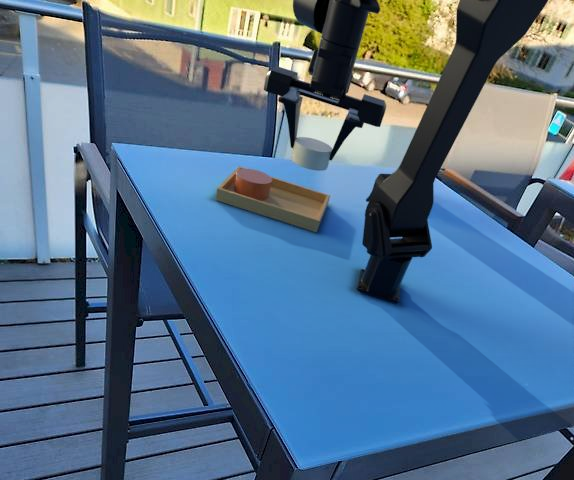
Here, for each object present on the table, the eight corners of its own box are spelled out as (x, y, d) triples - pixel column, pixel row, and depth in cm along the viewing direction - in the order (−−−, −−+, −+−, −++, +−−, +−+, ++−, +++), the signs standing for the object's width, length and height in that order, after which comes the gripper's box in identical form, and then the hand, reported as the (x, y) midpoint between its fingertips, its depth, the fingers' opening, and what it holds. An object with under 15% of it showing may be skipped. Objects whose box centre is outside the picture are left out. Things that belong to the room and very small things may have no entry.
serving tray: (316, 232, 83) (319, 221, 82) (215, 200, 84) (217, 188, 82) (327, 205, 93) (330, 195, 92) (236, 177, 93) (238, 166, 92)
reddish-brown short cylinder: (264, 204, 86) (267, 187, 84) (229, 192, 86) (232, 175, 84) (272, 192, 90) (275, 176, 88) (239, 181, 90) (242, 165, 89)
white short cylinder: (324, 174, 80) (329, 155, 78) (287, 162, 80) (291, 143, 78) (329, 163, 84) (334, 145, 82) (294, 152, 84) (299, 133, 82)
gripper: (402, 56, 77) (368, 157, 87) (289, 20, 77) (269, 125, 87) (400, 65, 68) (363, 176, 79) (274, 24, 68) (253, 141, 79)
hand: (311, 153), depth 81 cm, fingers closed on white short cylinder, 6 cm apart
